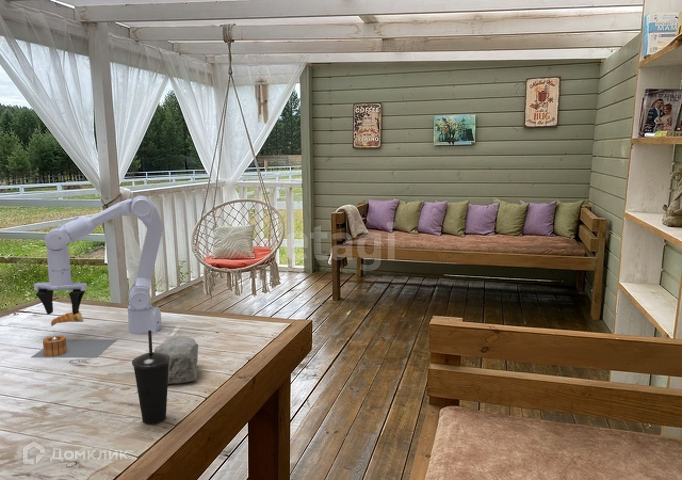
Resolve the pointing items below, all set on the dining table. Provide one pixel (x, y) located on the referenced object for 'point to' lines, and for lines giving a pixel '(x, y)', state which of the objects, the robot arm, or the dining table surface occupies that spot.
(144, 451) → the dining table surface
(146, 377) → the drinking cup
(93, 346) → the grey rectangular slab
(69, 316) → the pastry
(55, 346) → the bead
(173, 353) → the stone
